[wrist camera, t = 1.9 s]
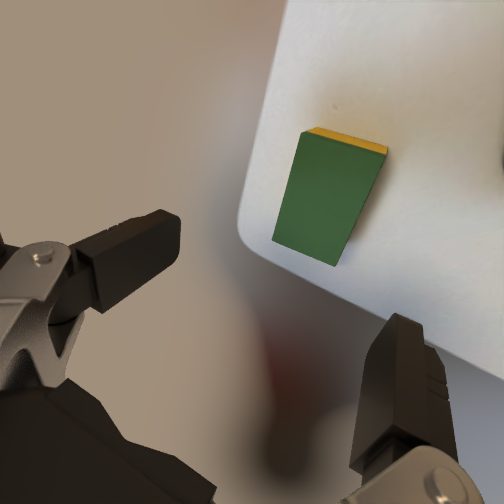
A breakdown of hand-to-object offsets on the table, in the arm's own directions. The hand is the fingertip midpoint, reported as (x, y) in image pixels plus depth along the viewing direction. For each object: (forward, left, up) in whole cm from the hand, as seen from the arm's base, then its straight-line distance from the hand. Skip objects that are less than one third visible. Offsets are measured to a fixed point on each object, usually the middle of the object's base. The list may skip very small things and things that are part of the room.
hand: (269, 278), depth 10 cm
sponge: (0, 0, -12) cm, 12 cm away
